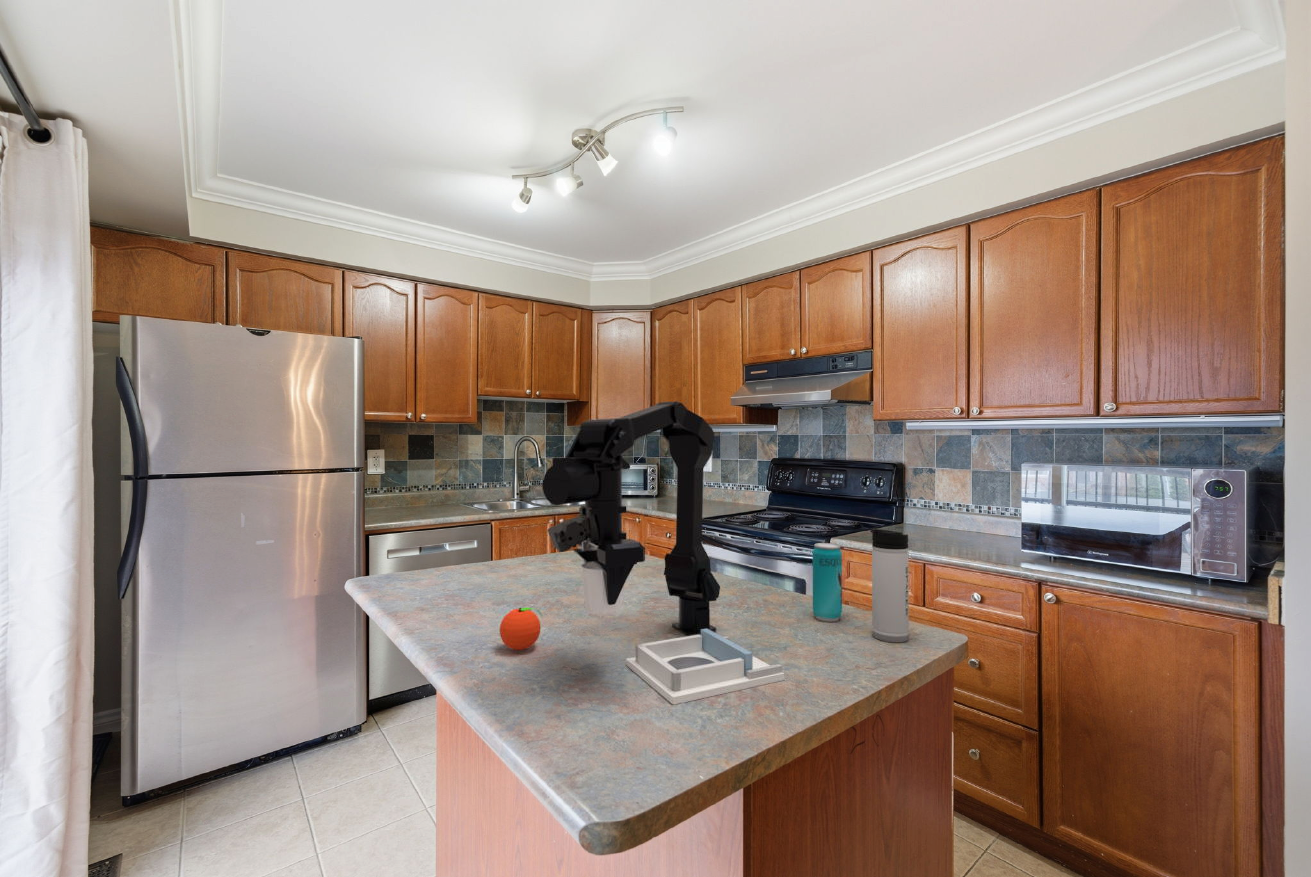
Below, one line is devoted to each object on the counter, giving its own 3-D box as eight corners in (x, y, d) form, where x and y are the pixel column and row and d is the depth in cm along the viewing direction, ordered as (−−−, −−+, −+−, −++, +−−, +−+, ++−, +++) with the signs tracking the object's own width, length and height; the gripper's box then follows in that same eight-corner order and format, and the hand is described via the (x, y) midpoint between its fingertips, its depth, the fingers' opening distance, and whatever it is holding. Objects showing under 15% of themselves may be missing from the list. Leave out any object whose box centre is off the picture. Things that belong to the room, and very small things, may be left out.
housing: (625, 664, 93) (626, 643, 93) (725, 646, 102) (725, 626, 102) (673, 704, 79) (673, 678, 79) (784, 679, 87) (784, 656, 87)
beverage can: (843, 623, 115) (843, 547, 116) (813, 621, 116) (813, 546, 117) (840, 615, 121) (840, 543, 121) (811, 613, 122) (811, 542, 122)
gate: (700, 648, 98) (700, 629, 98) (706, 647, 98) (706, 628, 98) (745, 675, 86) (745, 654, 86) (752, 674, 87) (752, 652, 87)
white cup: (632, 605, 93) (632, 561, 93) (614, 617, 86) (614, 570, 86) (593, 601, 95) (593, 558, 95) (573, 613, 89) (573, 567, 89)
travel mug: (864, 632, 110) (864, 526, 110) (898, 631, 110) (897, 526, 111) (880, 643, 104) (879, 531, 104) (915, 642, 104) (915, 530, 105)
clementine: (531, 638, 106) (531, 599, 106) (553, 647, 101) (553, 606, 101) (491, 648, 101) (492, 607, 101) (512, 659, 96) (513, 616, 96)
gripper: (537, 496, 96) (537, 591, 96) (572, 508, 79) (572, 623, 79) (601, 493, 101) (601, 583, 101) (646, 504, 84) (646, 612, 84)
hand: (603, 599), depth 91 cm, fingers closed on white cup, 6 cm apart
